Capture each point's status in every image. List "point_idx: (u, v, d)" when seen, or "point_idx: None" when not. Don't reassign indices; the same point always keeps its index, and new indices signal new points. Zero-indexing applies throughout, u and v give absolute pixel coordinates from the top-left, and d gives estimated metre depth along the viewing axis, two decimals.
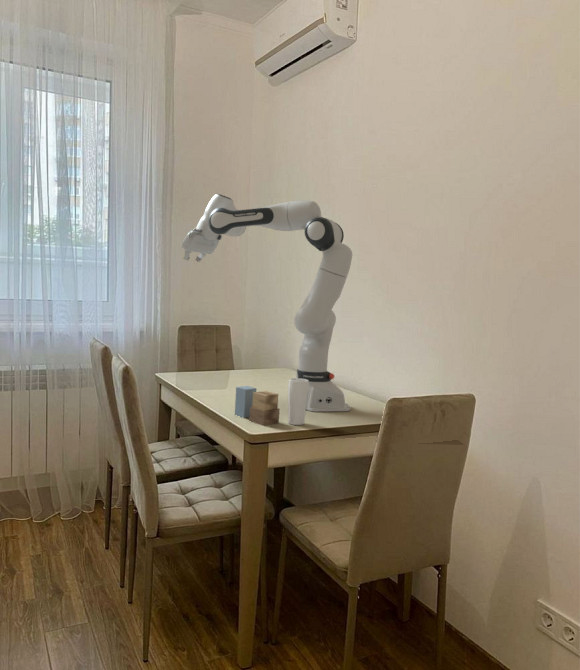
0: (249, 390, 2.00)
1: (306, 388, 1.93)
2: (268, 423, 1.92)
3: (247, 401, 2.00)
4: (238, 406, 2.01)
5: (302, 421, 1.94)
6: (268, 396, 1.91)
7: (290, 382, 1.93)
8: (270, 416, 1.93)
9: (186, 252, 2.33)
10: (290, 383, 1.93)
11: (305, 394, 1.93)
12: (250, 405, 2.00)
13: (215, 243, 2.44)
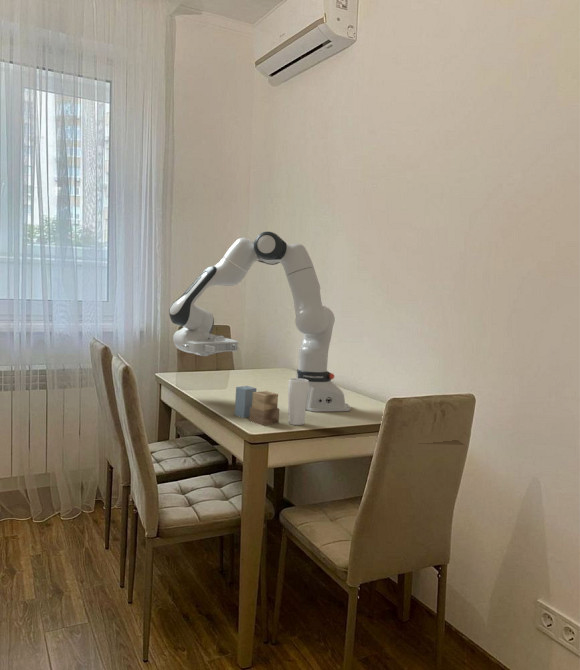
0: (249, 390, 2.00)
1: (306, 388, 1.93)
2: (268, 423, 1.92)
3: (247, 401, 2.00)
4: (238, 406, 2.01)
5: (302, 421, 1.94)
6: (267, 396, 1.92)
7: (290, 382, 1.93)
8: (270, 416, 1.93)
9: (206, 348, 2.07)
10: (290, 383, 1.93)
11: (305, 394, 1.93)
12: (250, 405, 2.00)
13: (226, 339, 2.21)
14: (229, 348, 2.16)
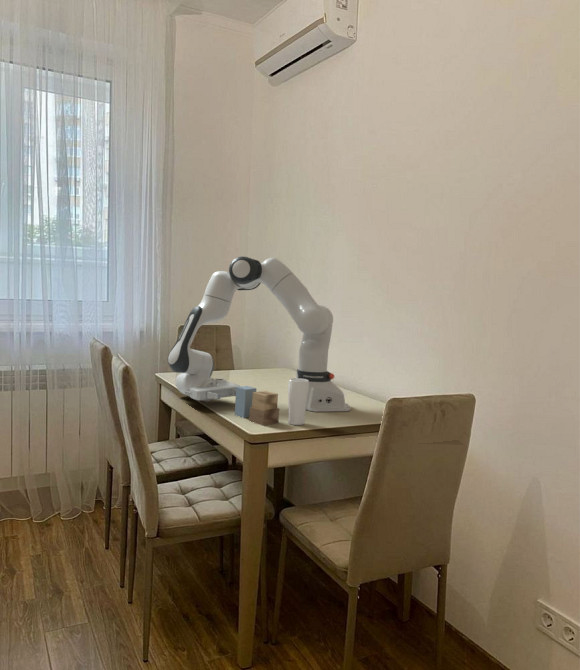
0: (249, 390, 2.00)
1: (306, 388, 1.93)
2: (268, 423, 1.92)
3: (247, 401, 2.00)
4: (238, 406, 2.01)
5: (302, 421, 1.94)
6: (268, 396, 1.92)
7: (290, 382, 1.93)
8: (270, 416, 1.93)
9: (209, 396, 2.07)
10: (290, 383, 1.93)
11: (305, 394, 1.93)
12: (250, 405, 2.00)
13: (228, 383, 2.21)
14: (232, 393, 2.16)
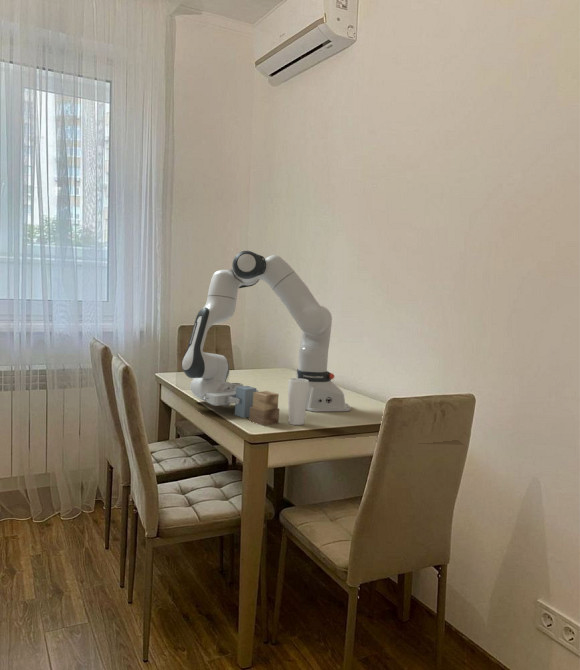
0: (249, 390, 2.00)
1: (306, 388, 1.93)
2: (268, 423, 1.92)
3: (247, 401, 2.00)
4: (238, 405, 2.01)
5: (302, 421, 1.94)
6: (268, 396, 1.92)
7: (290, 382, 1.93)
8: (270, 416, 1.93)
9: (230, 400, 2.00)
10: (290, 383, 1.93)
11: (305, 394, 1.93)
12: (250, 405, 2.00)
13: None
14: None
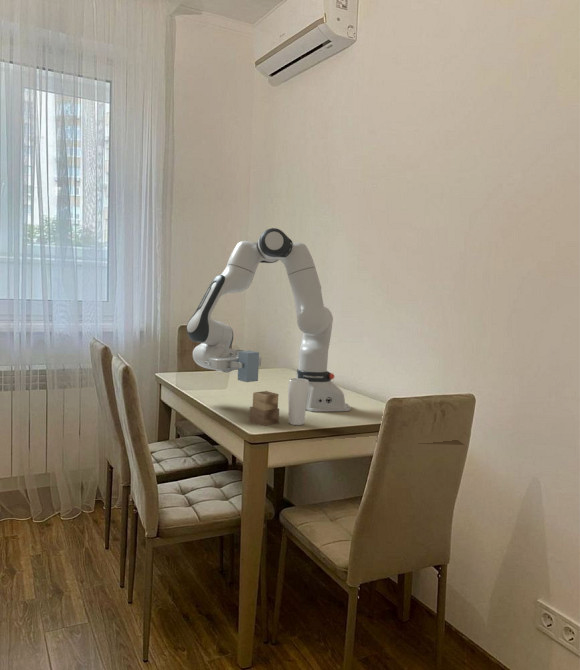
0: (252, 354, 1.98)
1: (306, 388, 1.93)
2: (268, 423, 1.92)
3: (250, 365, 1.98)
4: (240, 370, 2.00)
5: (302, 421, 1.94)
6: (268, 396, 1.91)
7: (290, 382, 1.93)
8: (270, 416, 1.93)
9: (233, 365, 1.99)
10: (290, 383, 1.93)
11: (305, 394, 1.93)
12: (253, 370, 1.99)
13: None
14: None
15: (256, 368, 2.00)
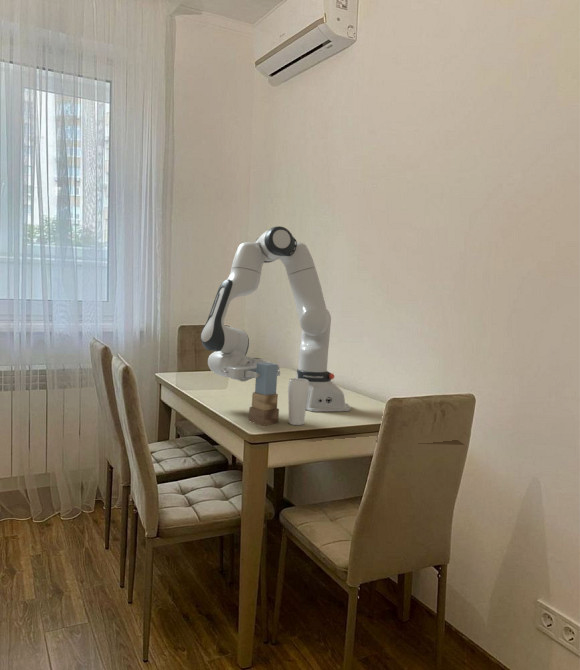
0: (270, 366, 1.92)
1: (306, 388, 1.93)
2: (268, 423, 1.92)
3: (269, 377, 1.92)
4: (258, 382, 1.93)
5: (302, 421, 1.94)
6: (267, 396, 1.92)
7: (290, 382, 1.93)
8: (270, 416, 1.93)
9: (248, 374, 1.91)
10: (290, 383, 1.93)
11: (305, 394, 1.93)
12: (271, 382, 1.93)
13: (265, 362, 2.06)
14: None
15: (274, 381, 1.94)
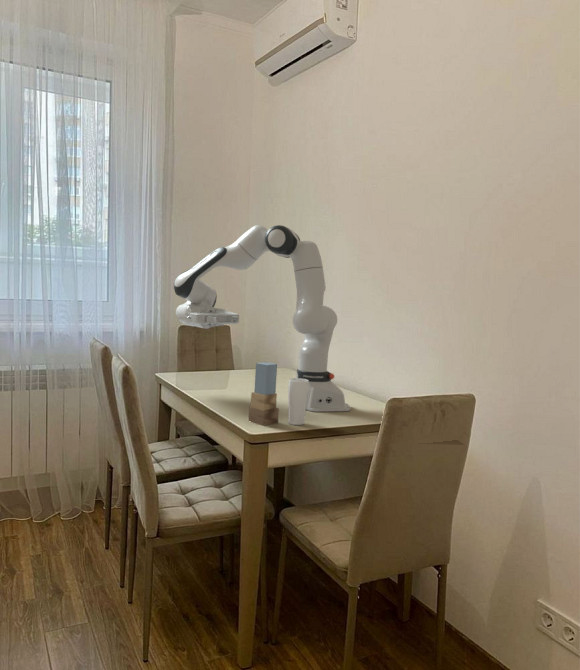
0: (270, 366, 1.92)
1: (306, 388, 1.93)
2: (268, 423, 1.92)
3: (269, 377, 1.92)
4: (258, 382, 1.93)
5: (302, 421, 1.94)
6: (267, 396, 1.92)
7: (290, 382, 1.93)
8: (270, 416, 1.93)
9: (208, 319, 2.13)
10: (290, 383, 1.93)
11: (305, 394, 1.93)
12: (271, 382, 1.93)
13: (227, 312, 2.27)
14: (230, 320, 2.22)
15: (274, 380, 1.94)
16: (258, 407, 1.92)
